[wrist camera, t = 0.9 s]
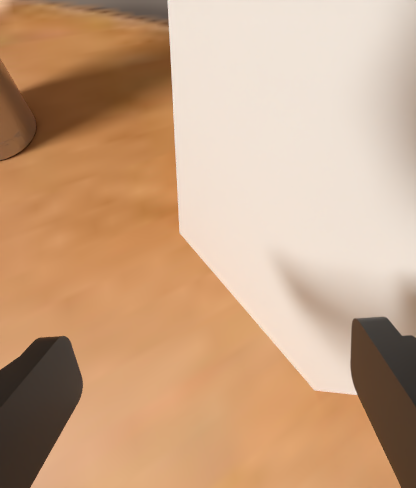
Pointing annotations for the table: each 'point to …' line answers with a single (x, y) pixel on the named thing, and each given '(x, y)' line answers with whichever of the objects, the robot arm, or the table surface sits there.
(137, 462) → the table surface
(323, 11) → the tall stand
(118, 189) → the table surface
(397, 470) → the robot arm
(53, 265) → the table surface
